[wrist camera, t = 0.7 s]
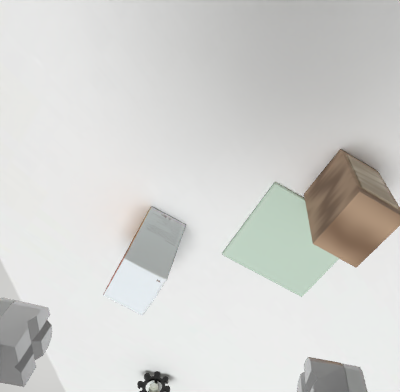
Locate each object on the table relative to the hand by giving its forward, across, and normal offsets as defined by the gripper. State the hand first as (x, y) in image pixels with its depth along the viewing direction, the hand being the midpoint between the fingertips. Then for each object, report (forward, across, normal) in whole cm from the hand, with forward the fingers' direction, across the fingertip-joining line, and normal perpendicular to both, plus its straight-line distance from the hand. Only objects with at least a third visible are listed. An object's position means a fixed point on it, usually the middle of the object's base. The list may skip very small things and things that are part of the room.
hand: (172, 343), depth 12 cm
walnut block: (+41, -15, +13) cm, 45 cm away
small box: (+41, +10, +26) cm, 50 cm away
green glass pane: (+41, -11, +24) cm, 48 cm away
